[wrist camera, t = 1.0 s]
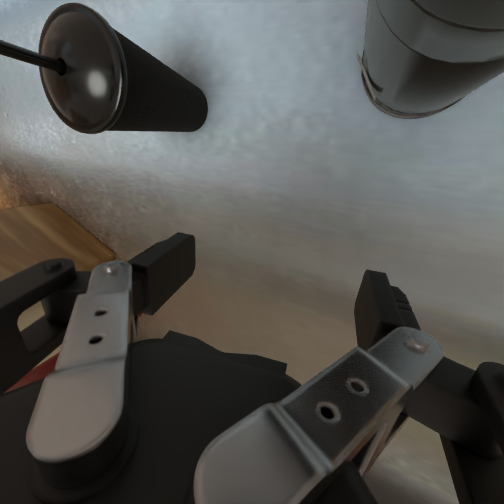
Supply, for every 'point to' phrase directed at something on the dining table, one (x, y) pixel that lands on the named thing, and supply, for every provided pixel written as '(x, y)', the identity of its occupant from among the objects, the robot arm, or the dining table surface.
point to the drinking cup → (108, 78)
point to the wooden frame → (46, 240)
